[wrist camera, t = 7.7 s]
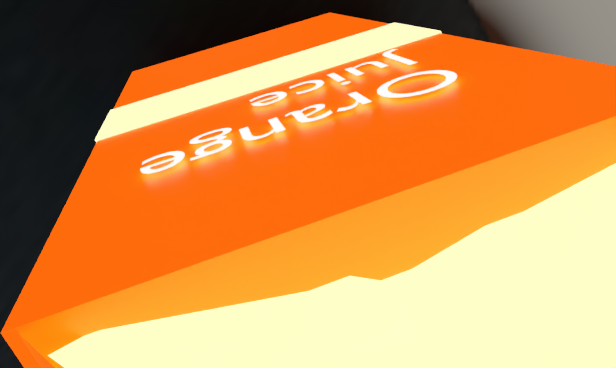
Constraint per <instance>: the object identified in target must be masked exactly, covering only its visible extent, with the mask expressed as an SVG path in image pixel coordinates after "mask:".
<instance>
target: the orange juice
mask: <svg viewBox="0 0 616 368" xmlns="http://www.w3.org/2000/svg"><path fill="white" fill-rule="evenodd" d="M95 141H96V145H95V147H94V149H93V151H92V153H91V155H90V157H89V159H88V161H87V163H86V165H85V167H84V169H83V171H82V173H81V175H80V177H79V179H78V181H77V183H76V185H75V187H74V188H73V190H72V192H71V194H70V196H69V198H68V200H67V202H66V204H65V206H64V208H63V210H62V212H61V214H60V216H59V218H58V220H57V222H56V224H55V226H54V228H53V230H52V232H51V234H50V236H49V238H48V240H47V242H46V244H45V246H44V248H43V250H42V252H41V254H40V256H39V258H38V260H37V262H36V264H35V266H34V268H33V270H32V272H31V274H30V276H29V278H28V280H27V282H26V284H25V286H24V288H23V290H22V292H21V294H20V296H19V298H18V300H17V302H16V304H15V306H14V308H13V310H12V312H11V314H10V315H9V317H8V319H7V321H6V323H5V325H4V327H3V329H2V331H1V334H2V336H3V337H4V339H5V340H6V342H7V343H8V345H9V346H10V348H11V349H12V350H13V352H14V353H15V355H16V356H17V358H18V359H19V361H20V362H21V364H22V365H23V367H24V368H616V66H611V65H605V64H601V63H595V62H590V61H585V60H579V59H574V58H569V57H563V56H558V55H553V54H547V53H542V52H537V51H531V50H526V49H521V48H515V47H510V46H504V45H500V44H494V43H489V42H484V41H478V40H473V39H468V38H462V37H457V36H452V35H446V34H442V33H441V31H439V30H434V29H428V28H422V27H417V26H411V25H406V24H400V23H391V24H388V23H383V22H377V21H372V20H367V19H361V18H356V17H351V16H345V15H340V14H335V13H327V14H323V15H320V16H317V17H313V18H310V19H307V20H303V21H300V22H297V23H293V24H290V25H287V26H283V27H280V28H277V29H273V30H270V31H267V32H263V33H260V34H257V35H253V36H250V37H247V38H243V39H240V40H237V41H233V42H230V43H227V44H223V45H220V46H217V47H213V48H210V49H207V50H203V51H200V52H197V53H193V54H190V55H187V56H183V57H180V58H177V59H173V60H170V61H167V62H163V63H160V64H157V65H153V66H150V67H147V68H143V69H140V70H137V71H133V72H132V73H131V75H130V77H129V79H128V81H127V83H126V85H125V87H124V89H123V91H122V93H121V95H120V97H119V99H118V101H117V103H116V105H115V107H114V109H112V110H110V111H109V113H108V115H107V117H106V119H105V121H104V123H103V125H102V127H101V129H100V130H99V132H98V134H97V136H96V138H95Z"/></svg>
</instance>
